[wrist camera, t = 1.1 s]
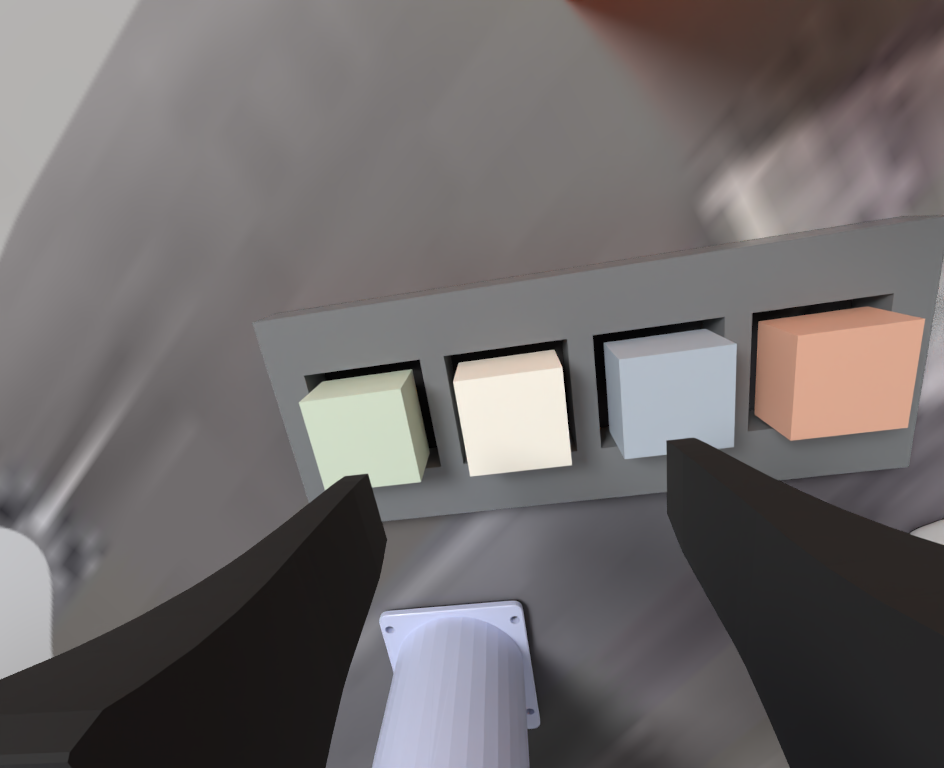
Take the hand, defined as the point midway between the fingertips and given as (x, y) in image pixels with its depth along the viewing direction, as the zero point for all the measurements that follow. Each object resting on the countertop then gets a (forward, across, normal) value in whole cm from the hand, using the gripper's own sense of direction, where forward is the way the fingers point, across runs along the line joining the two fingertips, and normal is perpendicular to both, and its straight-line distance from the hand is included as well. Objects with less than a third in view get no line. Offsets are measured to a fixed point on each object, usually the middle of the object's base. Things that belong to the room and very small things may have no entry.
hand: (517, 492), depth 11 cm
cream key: (+9, 0, +1) cm, 9 cm away
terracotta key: (+9, -12, +1) cm, 15 cm away
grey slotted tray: (+10, -3, +1) cm, 11 cm away
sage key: (+9, +6, +1) cm, 11 cm away
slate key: (+9, -6, +1) cm, 11 cm away
